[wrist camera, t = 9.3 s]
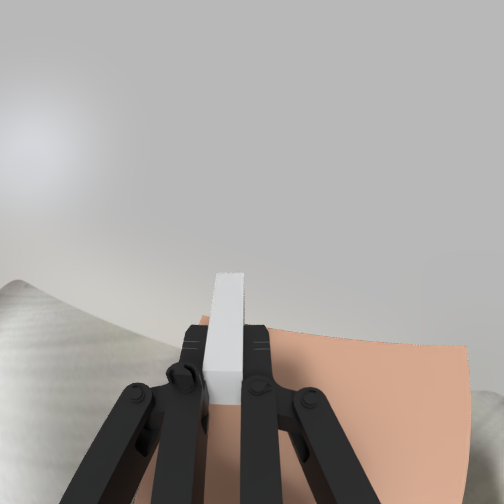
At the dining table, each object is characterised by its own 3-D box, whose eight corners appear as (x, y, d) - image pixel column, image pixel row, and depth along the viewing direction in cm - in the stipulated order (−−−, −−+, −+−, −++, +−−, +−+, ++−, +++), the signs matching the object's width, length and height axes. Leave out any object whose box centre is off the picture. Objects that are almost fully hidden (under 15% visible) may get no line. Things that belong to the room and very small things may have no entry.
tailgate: (123, 534, 7) (202, 315, 18) (134, 531, 8) (206, 325, 19) (443, 562, 3) (466, 346, 14) (433, 559, 4) (456, 354, 15)
